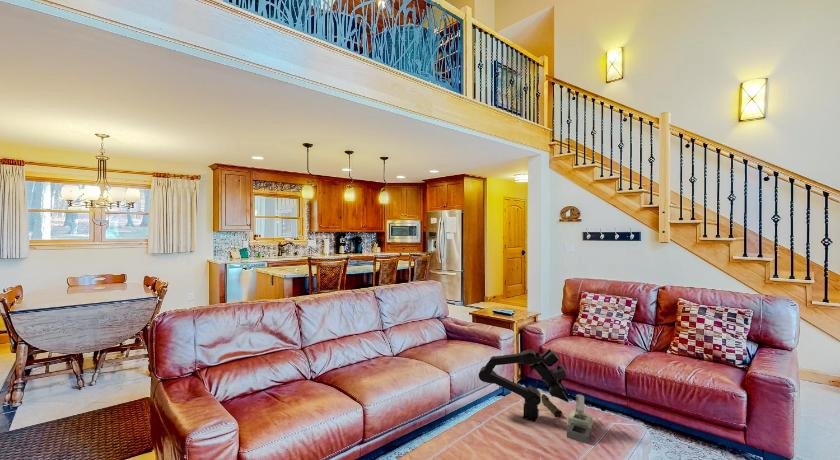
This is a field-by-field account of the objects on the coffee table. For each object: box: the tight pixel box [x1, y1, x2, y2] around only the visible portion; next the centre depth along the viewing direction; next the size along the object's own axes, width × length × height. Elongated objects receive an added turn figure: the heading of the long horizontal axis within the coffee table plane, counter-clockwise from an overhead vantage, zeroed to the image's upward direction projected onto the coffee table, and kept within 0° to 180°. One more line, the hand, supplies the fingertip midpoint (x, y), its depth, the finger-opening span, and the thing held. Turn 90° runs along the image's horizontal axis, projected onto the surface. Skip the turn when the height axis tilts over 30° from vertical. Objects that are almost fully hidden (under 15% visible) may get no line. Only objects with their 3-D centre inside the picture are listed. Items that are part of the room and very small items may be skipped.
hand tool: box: [541, 394, 563, 418], centre depth 202 cm, size 19×4×5 cm, turn 5°
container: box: [566, 410, 594, 428], centre depth 186 cm, size 10×10×4 cm
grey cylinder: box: [575, 394, 585, 420], centre depth 186 cm, size 4×4×13 cm
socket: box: [566, 423, 593, 445], centre depth 176 cm, size 9×9×3 cm
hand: (567, 397), depth 188 cm, fingers open, 9 cm apart
